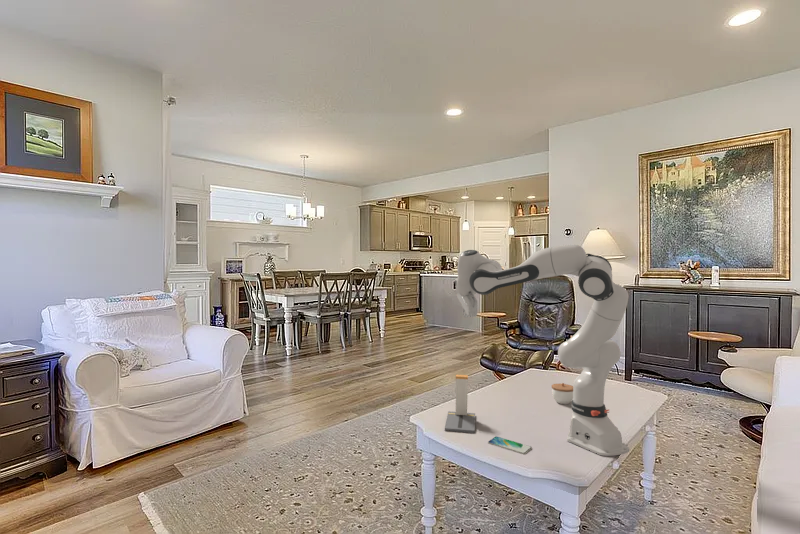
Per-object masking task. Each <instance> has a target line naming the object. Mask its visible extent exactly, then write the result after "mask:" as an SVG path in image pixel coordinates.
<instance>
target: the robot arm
mask: <svg viewBox="0 0 800 534" xmlns="http://www.w3.org/2000/svg"><path fill="white" fill-rule="evenodd" d="M611 265H612V264H611V263H610V261H609V260H608V259H607V258H605V257H603V256H600V255H595V254H592V253H587V252H586V251H585V249H584V248H583V247H582V246H581V245H578V244H563V245H556V246H550V247H545V248H543V249H539V250H537V251H534V252H533V253H531V255H530V256H529V257H528V258H527V259H526V260H525V261H523V262H521V264H519V265H517V266H513V267H509V268H506V269H503V267H502V265H501V264H500V263H499V262H498V261H496V260H494V259H490V258H488V257H485V256H484V255H482V254H481V253H480V252H479V251H478V250H475V249H468V250H464V251H462V252H461V253H460V254H459V255H458V260H457V268H456V269H457V277H456V278H455V279H454V284H455V294H456V298H457V300H458V301H459V302H458V303H460V305H461V308H462V315H463V317H464V318H475V317H476V318H477V315H478V300H477V299H476V296H475V294H476V295H477V294H478V295H481V296H482V295H483V296H486V295H487V296H488V295H490V294H492V292H494V291H496V290H498V289H501V288H504V287H510V286H513V285H518V284H523V283H526V282H530V281H535V280H539V279H545V278H546V279H547V278H553V277H557V276H563V275H572V276H576V277H578V281H577V283H578V284H577V285H578V287H579V290H580V291H581V292H582V294H584V295H585V296H587V297H588V298H591V299H593V302H592V304H591V307H590V309H589V311H588V313H587V316H586V318H585V320H584V323H582V325H581V327H580V328H579V329H578V330H577V331H576V332H575V333H574V334H573V336H571V337H570V338H568V339H567V340H566V341H564V342H562V343H561V344H559V347H558V349H557V357H558V360H559V361H560V363H561V364H562V365H563V367H566V368H570V369H577V370H578V369H579V370H580V369H582V370H581V372H580V374H579V375H577V377H576V378H575V379H574V381H573V383H572V384H573V385H572V386H573V400H572V401H571V404H570V405H571V411H572V412H571V413H572V414H571V418H570V424H569V431H568V433H567V437H566V441H567V442H569V443H571V444H573V445H576V446H578V447H580V448H583V449H585V450H587V451H589V450H590V452H592V453H594V454H596V453H597V454H596V455H599V456H604V457H605V456H606V457H613V456H620V455H625V454H627V453H629V452H630V447H628V446H627V445H626V444H625V443H623V437H622V433H621V431H620V430H619V428H618V427H617V426H616V425H615V424H614V422H612V420H611V419H610V417H608V413H610V409H607V408H606V405H605V403H604V402H605V401H604V400H605V385H606V383H607V379H608V376H609V374H610V373H611V370H612V368H613V367H614V366H615V365H616V364H617V363H618V362H619V361H620V358H621V354H622V353H621V348H620V347H619V345H618V343H617V342H615V341H614V340H612V338H614V336H615V335H616V334H617V332H618V329H619V327H620V324H621V322H622V320H623V318H624V315H625V312H626V309H627V306H628V304H629V293H628V292H629V291H628V290H627V289H626V288H625V287H624V286H621V285H619V284H616V283H614V282H613V271H612V270H613V269H612V266H611Z"/></svg>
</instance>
